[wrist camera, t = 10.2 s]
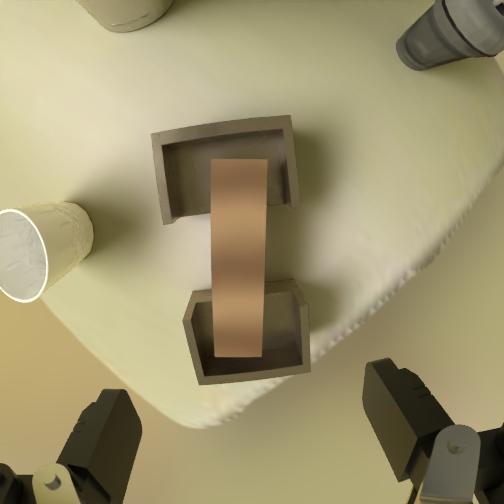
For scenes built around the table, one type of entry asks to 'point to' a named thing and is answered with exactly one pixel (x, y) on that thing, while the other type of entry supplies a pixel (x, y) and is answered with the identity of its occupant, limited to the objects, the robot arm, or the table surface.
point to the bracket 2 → (273, 338)
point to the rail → (238, 255)
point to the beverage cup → (453, 33)
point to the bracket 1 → (222, 147)
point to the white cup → (41, 246)
